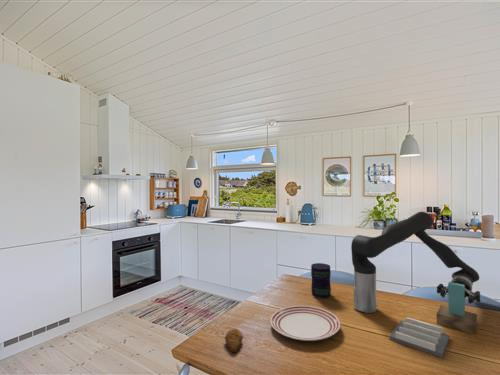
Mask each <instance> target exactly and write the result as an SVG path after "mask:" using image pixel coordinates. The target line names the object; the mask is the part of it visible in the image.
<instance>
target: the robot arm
mask: <svg viewBox="0 0 500 375" xmlns="http://www.w3.org/2000/svg"><path fill="white" fill-rule="evenodd" d="M433 224H434V219H433V217H432V215H431V214H429V213H428V212H425V211H418V212H415V213H414V214H413V215H411V216H410V217H407V218H406V219H402V220H400V221H396V222H394V223H391V224H389V225H387V226H385V227H384V228H383V229H382V232H381V234H380V235H378V236H374V237H373V236H367V235H360V234H357V235H355V236H354V237H353V239H352V241H351V246H350V247H351V248H350V250H351V260H352V261H351V264H352V265H353V273H354V274H353V277H354V278H353V279H354V280H353V282H354V285H353V286H354V287H353V310H356V311H359V312H361V313H365V314H366V313H367V314H372V313H375V312H377V308H378V306H377V267H376V265H375V264H374V263H373V262H372V261H370V259H373V258H376V257H377V256H379V255H381V254H382V253H384V252H385V251H386V250H388V249H389V248H392V247H394V246H395V245H397V244H400V243H402V242H404V241H406V240H407V239H409V238H410V237H412V236H413V235H415V236H416V238H418V239H419V240H420V241H421V242H422V243H423V244H425V246H426V247H428V248H429V249H430V250H431V251H432V252H433V253H434V254H435V255H436V256H437V257H438V258H439V260H441V262H442V263H443V264H444V265H445V267H446V268H448V269H454V268H460V269H459V270H457V271H454V272H453V273H452V274H451V281H450V282H453V283H458V284H463V285H465V300H467V301H468V302H467V303H468V304H472V303H474V302H475V301H476V302H477V303H480V302H481V291H479V290H476V291H473V283H475V282H478V281H479V280H480V275H479V273H478V271H477V270H475V268H473V267H471V266H470V265H468V264H467V262H466V263H465V261H463V260H462V259H461V258H460V257H459V256H458V255H457V254H456V253H455V252H454V250H453V249H452V248H451V247H449V246H448V245H447V244H445V243H443V242H441V241H440V240H437V239H436V238H433V237H432V236H430V235H429V234H428V233H427V232H426V231H427V230H428V229H429V228H431V227H432V225H433ZM425 230H426V231H425ZM436 293H437V294H440V297H441V298H445V297H446V296H448V285H447V286H446V285H445V286H444V284H443V283H439V284H438V285H437V286H436Z"/></svg>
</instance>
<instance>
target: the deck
mask: <svg viewBox="0 0 500 375" xmlns="http://www.w3.org/2000/svg"><path fill="white" fill-rule="evenodd" d="M436 324H438V325H442V326H445V327H449V328H451V329H455V330H460V331H463V332H466V333H471V334H474V335H475V334H476V331H477V325H478V313H475V312H471V311H466V310H465V316H464V317H463V316H459V315H455V314H451V313H449V306H447V305H442V304H441V305H440V306H439V309H438V310H437V312H436Z"/></svg>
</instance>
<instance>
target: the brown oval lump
mask: <svg viewBox="0 0 500 375" xmlns="http://www.w3.org/2000/svg"><path fill="white" fill-rule="evenodd" d="M224 340H225V342H226V344H227V347H228V348H229V350H230V352H231V353H232V354H236V353H238V351H239V349H240V346H241V345H242V344H241V343H242V342H243V340H244V336H243V334H242V333H241V331H240V330H239V329H238V328H232V329H230V330H229V331H227V332H226V334H225V337H224Z"/></svg>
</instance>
